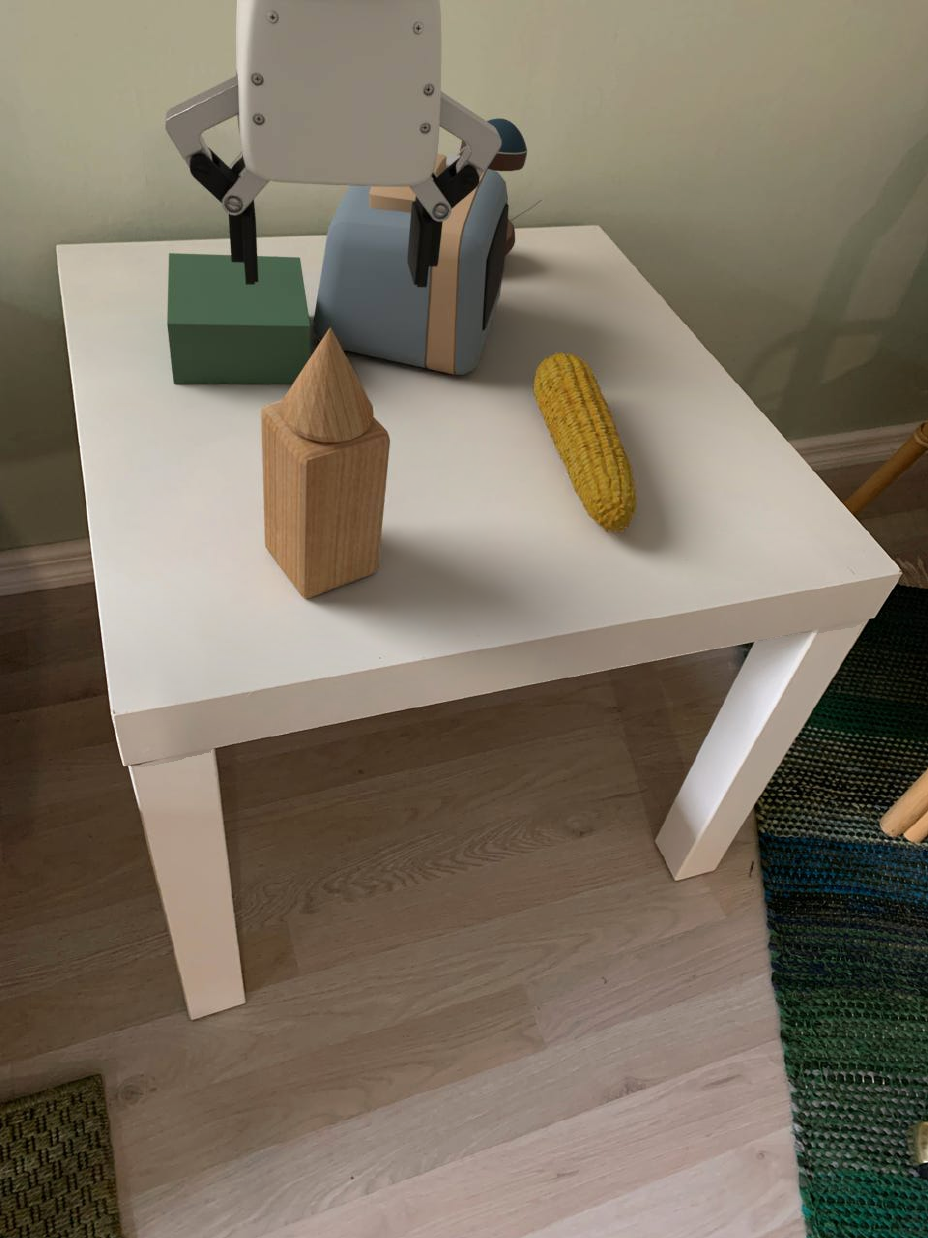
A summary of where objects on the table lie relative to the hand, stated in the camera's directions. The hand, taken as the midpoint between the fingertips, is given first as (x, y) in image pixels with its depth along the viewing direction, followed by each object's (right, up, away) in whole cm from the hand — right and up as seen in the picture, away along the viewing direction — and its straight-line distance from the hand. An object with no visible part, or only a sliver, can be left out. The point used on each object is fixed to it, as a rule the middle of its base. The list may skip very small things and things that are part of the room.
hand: (335, 273), depth 55 cm
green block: (-14, +6, +35) cm, 38 cm away
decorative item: (-3, -16, +17) cm, 24 cm away
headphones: (+9, +20, +52) cm, 56 cm away
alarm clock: (+2, +9, +41) cm, 42 cm away
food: (+18, -6, +30) cm, 35 cm away
